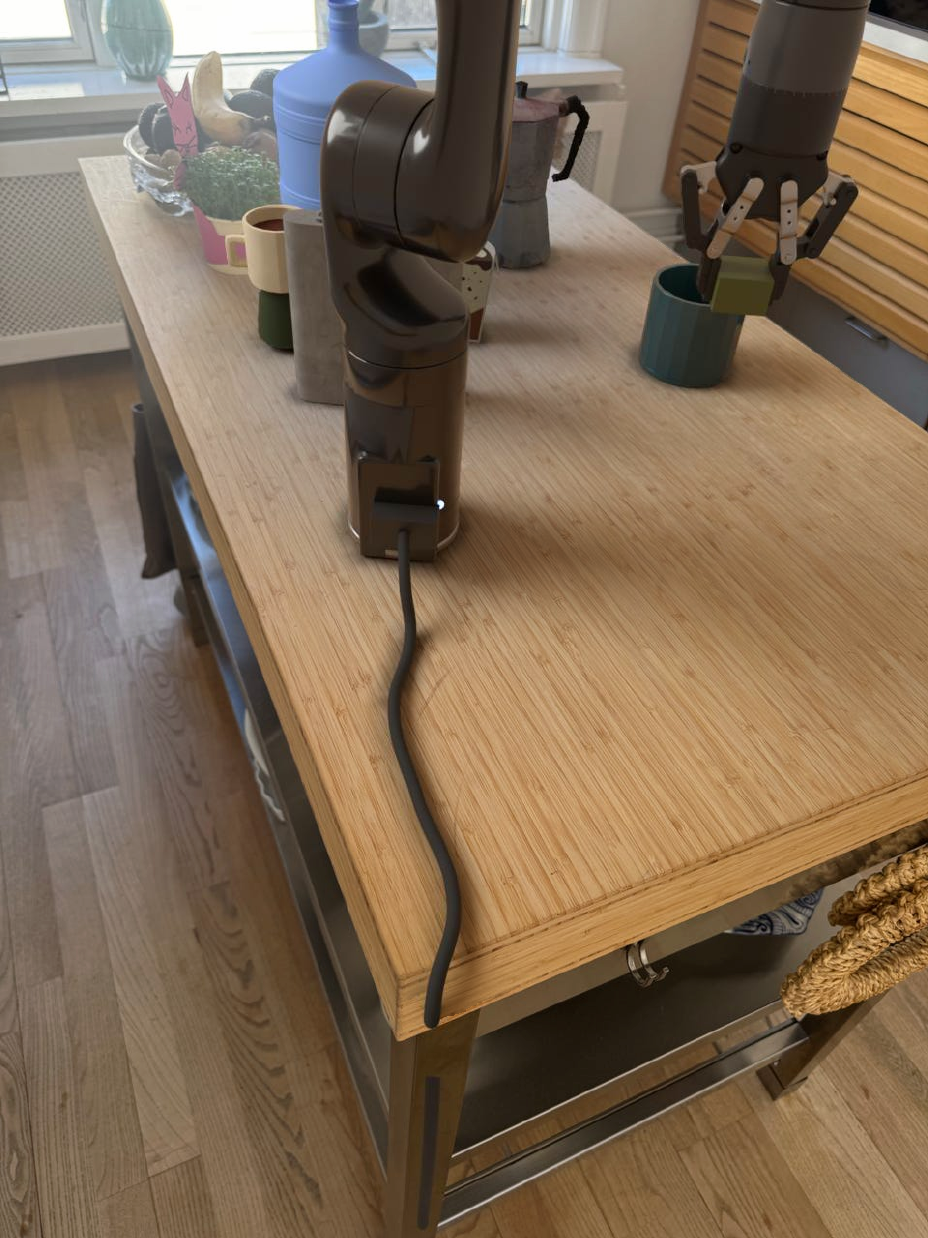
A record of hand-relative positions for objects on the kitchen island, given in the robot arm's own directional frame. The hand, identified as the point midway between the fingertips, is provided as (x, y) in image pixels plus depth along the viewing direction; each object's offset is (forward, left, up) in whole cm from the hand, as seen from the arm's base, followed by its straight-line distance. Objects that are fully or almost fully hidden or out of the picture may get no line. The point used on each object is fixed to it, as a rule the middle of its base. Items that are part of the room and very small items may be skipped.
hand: (736, 298), depth 78 cm
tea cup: (+17, -1, -16) cm, 23 cm away
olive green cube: (0, 0, 0) cm, 0 cm away
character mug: (+15, +42, -16) cm, 48 cm away
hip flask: (+5, +31, -16) cm, 35 cm away
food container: (+21, +26, -16) cm, 37 cm away
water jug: (+33, +38, -16) cm, 53 cm away
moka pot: (+42, +18, -16) cm, 49 cm away
